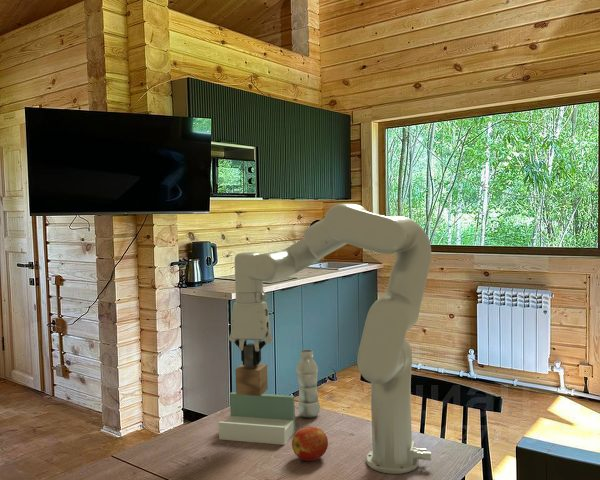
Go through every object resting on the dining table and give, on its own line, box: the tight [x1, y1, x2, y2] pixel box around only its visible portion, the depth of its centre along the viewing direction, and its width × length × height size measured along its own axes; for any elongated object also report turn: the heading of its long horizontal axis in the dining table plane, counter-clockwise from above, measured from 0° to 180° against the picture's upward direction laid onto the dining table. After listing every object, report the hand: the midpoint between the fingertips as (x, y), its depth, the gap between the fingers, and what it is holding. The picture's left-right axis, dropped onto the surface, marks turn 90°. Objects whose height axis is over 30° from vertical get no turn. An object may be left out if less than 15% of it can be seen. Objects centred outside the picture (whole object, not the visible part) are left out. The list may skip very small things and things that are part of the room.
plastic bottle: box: [296, 349, 321, 418], centre depth 165 cm, size 6×7×20 cm
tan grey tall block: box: [235, 342, 269, 396], centre depth 150 cm, size 7×6×13 cm
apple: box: [291, 426, 329, 462], centre depth 136 cm, size 8×8×8 cm
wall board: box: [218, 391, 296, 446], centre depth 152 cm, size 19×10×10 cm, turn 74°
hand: (251, 363), depth 149 cm, fingers closed on tan grey tall block, 2 cm apart
